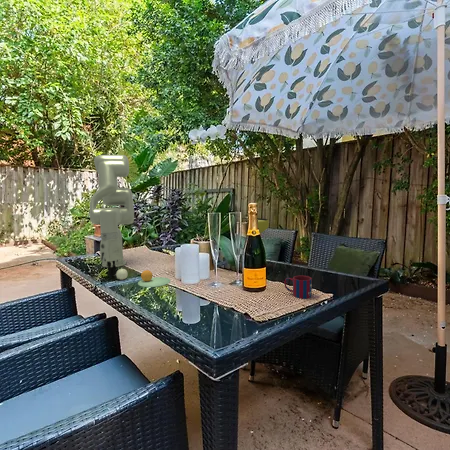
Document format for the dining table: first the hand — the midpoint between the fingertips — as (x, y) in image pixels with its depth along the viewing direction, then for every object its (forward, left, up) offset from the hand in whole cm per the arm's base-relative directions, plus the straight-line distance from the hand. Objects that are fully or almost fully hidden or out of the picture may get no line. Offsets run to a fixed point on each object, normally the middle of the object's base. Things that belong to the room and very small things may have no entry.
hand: (112, 274), depth 144 cm
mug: (+85, +2, -2) cm, 85 cm away
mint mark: (+23, 0, -2) cm, 23 cm away
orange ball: (+19, 0, +1) cm, 19 cm away
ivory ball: (+6, -1, +1) cm, 6 cm away
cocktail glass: (+58, +31, -2) cm, 66 cm away
